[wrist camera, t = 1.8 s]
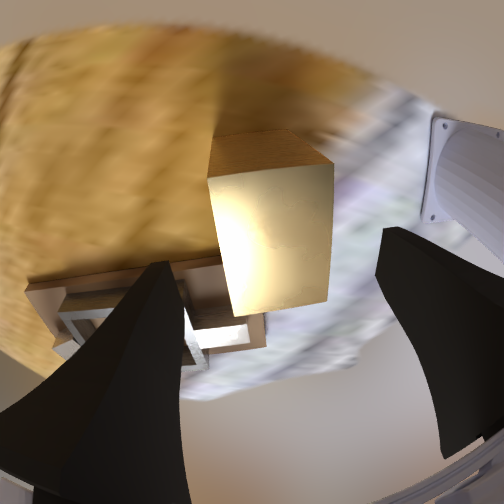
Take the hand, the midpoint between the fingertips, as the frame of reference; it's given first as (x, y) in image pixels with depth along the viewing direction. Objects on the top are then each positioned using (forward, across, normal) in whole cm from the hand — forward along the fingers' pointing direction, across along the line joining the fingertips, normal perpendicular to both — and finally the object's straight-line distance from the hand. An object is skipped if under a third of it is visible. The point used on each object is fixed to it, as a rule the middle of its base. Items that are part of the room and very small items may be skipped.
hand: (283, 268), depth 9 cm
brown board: (+8, +10, +9) cm, 16 cm away
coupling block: (+8, 0, 0) cm, 8 cm away
